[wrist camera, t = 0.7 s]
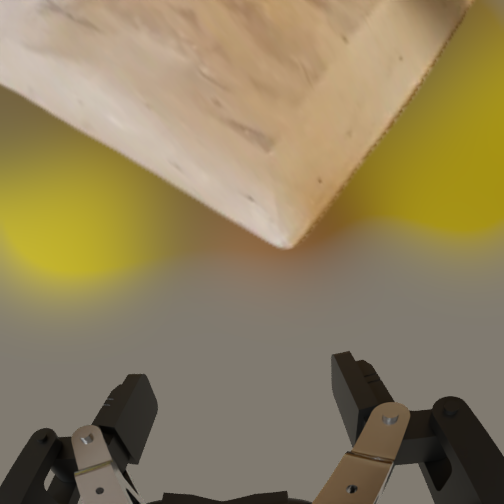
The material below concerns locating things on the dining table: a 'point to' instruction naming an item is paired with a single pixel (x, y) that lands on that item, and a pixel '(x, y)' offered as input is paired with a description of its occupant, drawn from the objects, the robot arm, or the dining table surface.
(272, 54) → the dining table surface
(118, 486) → the robot arm
